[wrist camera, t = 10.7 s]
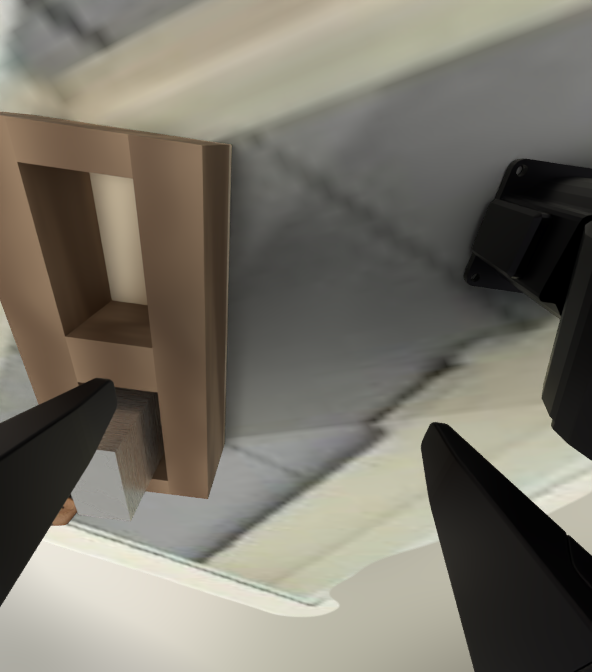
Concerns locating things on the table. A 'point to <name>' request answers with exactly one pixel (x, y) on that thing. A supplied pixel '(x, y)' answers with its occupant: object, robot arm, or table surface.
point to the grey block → (123, 458)
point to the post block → (122, 274)
